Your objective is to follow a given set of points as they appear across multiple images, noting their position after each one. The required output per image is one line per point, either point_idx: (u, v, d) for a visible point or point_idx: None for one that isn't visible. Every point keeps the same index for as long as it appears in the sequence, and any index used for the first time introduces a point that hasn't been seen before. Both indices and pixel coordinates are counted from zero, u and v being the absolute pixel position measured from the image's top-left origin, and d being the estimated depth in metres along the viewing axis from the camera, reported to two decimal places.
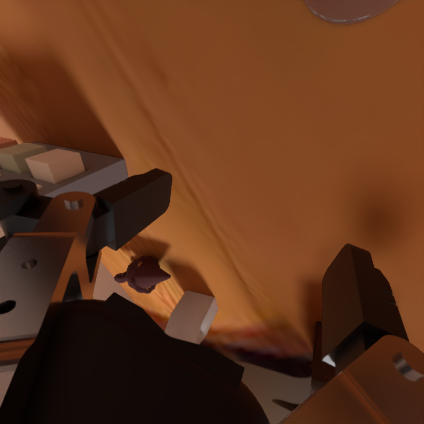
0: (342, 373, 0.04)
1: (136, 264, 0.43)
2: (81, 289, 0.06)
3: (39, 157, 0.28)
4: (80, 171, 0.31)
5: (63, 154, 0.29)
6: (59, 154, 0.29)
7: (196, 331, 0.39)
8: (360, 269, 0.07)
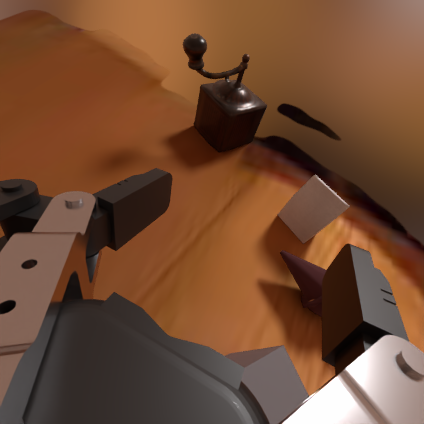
0: (342, 373, 0.04)
1: (313, 301, 0.29)
2: (81, 289, 0.06)
3: None
4: None
5: None
6: None
7: (302, 191, 0.36)
8: (360, 269, 0.07)
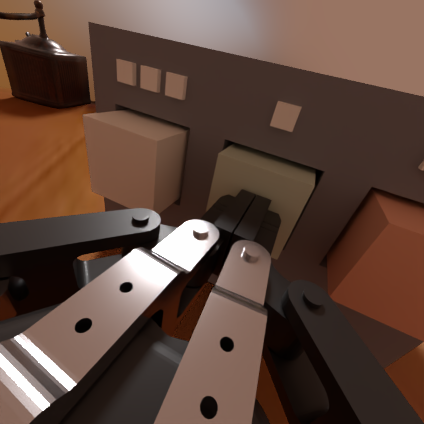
0: (213, 288, 0.05)
1: None
2: (162, 325, 0.05)
3: (134, 155, 0.11)
4: None
5: (106, 177, 0.12)
6: (114, 177, 0.12)
7: None
8: (254, 208, 0.09)
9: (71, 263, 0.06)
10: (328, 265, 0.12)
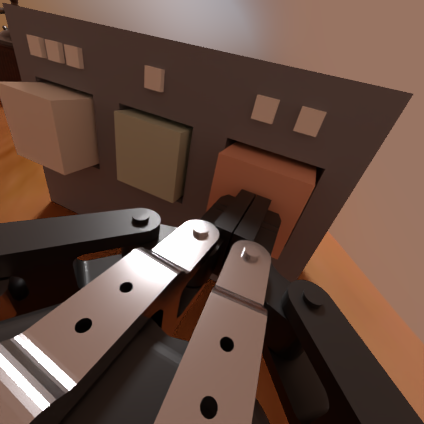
0: (213, 289, 0.05)
1: None
2: (162, 325, 0.05)
3: (38, 115, 0.13)
4: None
5: (24, 138, 0.14)
6: (29, 138, 0.14)
7: None
8: (254, 208, 0.09)
9: (71, 263, 0.06)
10: None
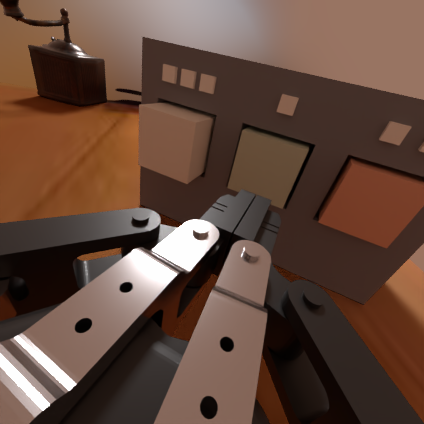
0: (213, 289, 0.05)
1: None
2: (162, 325, 0.05)
3: (177, 134, 0.15)
4: None
5: (152, 152, 0.16)
6: (159, 152, 0.16)
7: None
8: (254, 208, 0.09)
9: (71, 263, 0.06)
10: (319, 207, 0.17)
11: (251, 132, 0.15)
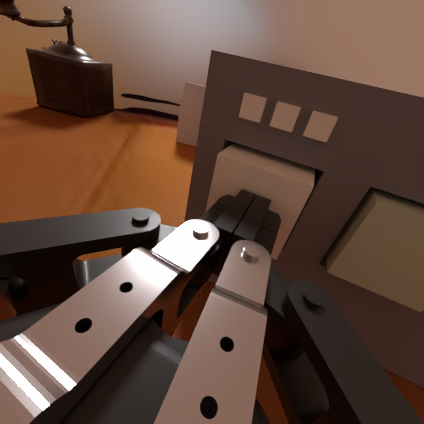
0: (213, 288, 0.05)
1: None
2: (162, 325, 0.05)
3: (275, 198, 0.10)
4: None
5: None
6: None
7: (184, 100, 0.39)
8: (254, 208, 0.09)
9: (71, 263, 0.06)
10: None
11: (391, 205, 0.09)
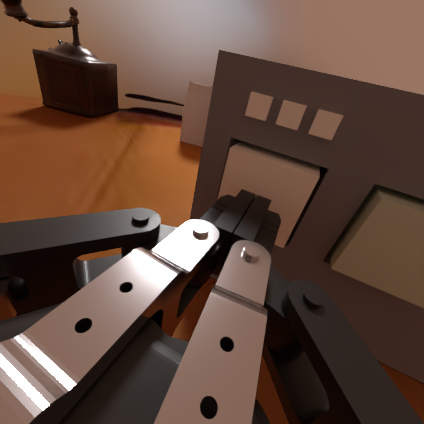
0: (213, 289, 0.05)
1: None
2: (162, 325, 0.05)
3: (283, 188, 0.11)
4: None
5: None
6: None
7: (188, 100, 0.39)
8: (254, 208, 0.09)
9: (71, 263, 0.06)
10: None
11: (395, 202, 0.09)
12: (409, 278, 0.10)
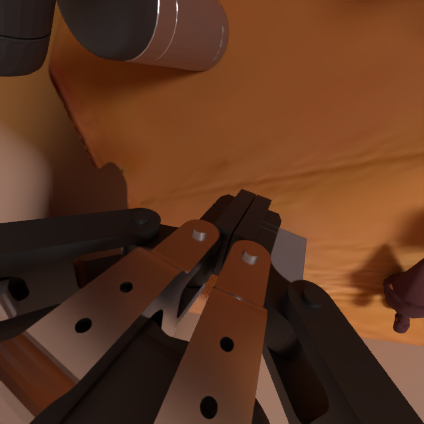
0: (213, 288, 0.05)
1: (389, 288, 0.36)
2: (162, 325, 0.05)
3: None
4: None
5: None
6: None
7: None
8: (254, 208, 0.09)
9: (71, 263, 0.06)
10: None
11: None
12: None
